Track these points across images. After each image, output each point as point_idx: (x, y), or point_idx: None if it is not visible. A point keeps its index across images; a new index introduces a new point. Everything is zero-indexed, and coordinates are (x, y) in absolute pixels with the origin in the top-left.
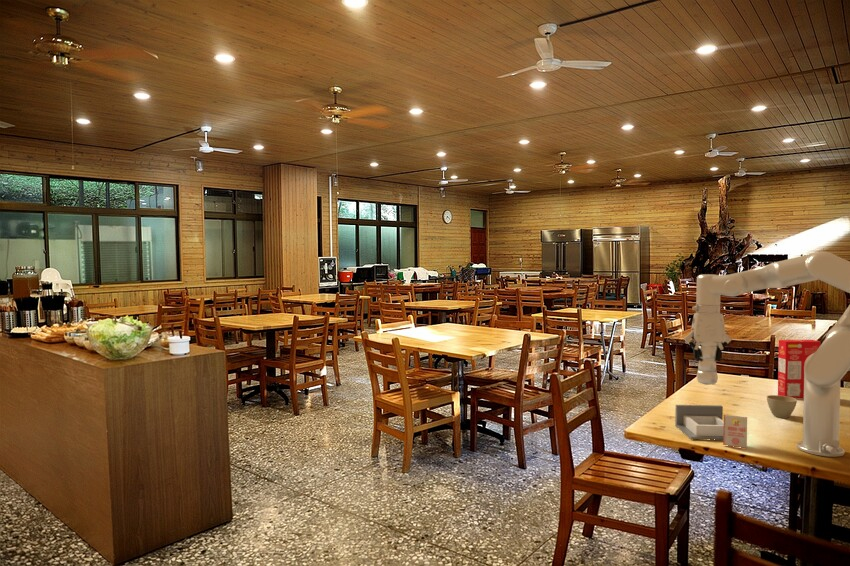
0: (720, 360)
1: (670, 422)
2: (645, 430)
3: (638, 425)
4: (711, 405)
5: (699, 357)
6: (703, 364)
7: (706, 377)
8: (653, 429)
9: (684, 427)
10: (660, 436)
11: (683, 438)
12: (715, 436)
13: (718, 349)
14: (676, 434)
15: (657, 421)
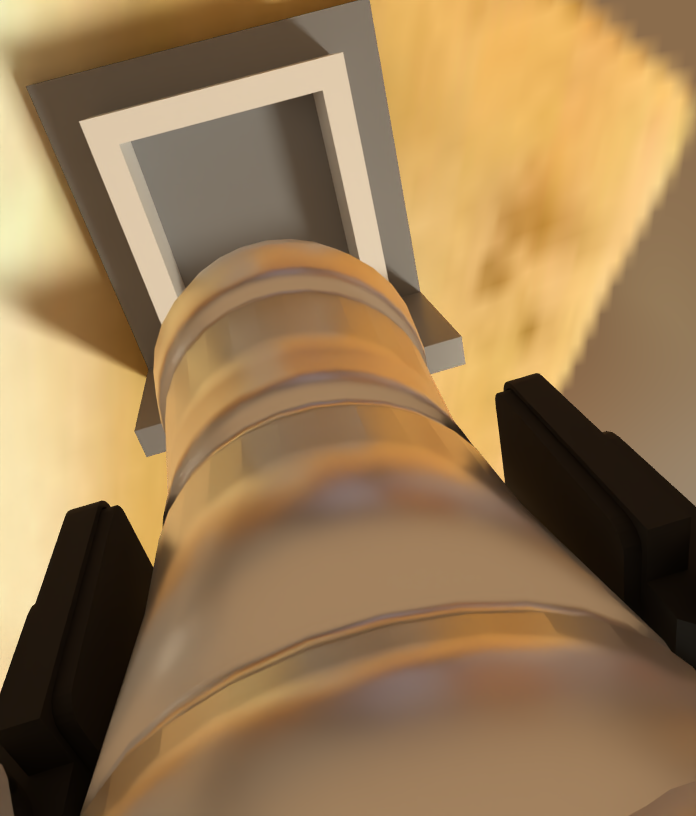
0: (66, 516)
1: (434, 377)
2: (610, 153)
3: (624, 252)
4: None
5: (529, 422)
6: (400, 362)
7: (315, 252)
8: (558, 193)
9: (382, 241)
10: (549, 32)
11: (410, 29)
12: (200, 74)
13: (64, 771)
14: (440, 120)
15: (501, 372)
